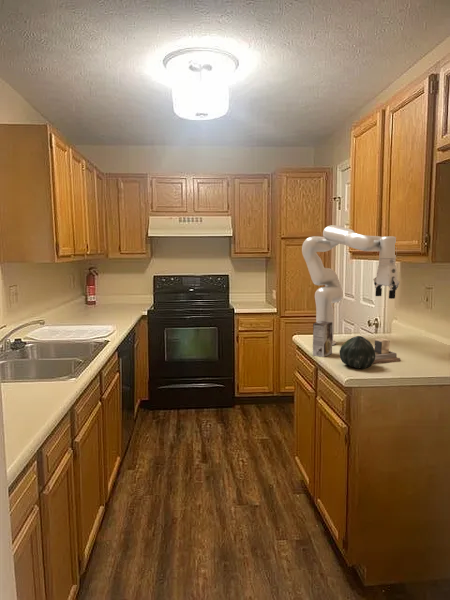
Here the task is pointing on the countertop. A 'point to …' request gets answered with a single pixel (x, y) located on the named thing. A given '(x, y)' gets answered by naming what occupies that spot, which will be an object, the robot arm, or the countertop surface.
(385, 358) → the rail board
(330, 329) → the coffee box
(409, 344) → the countertop surface
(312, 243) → the robot arm
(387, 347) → the wooden block
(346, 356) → the squash
